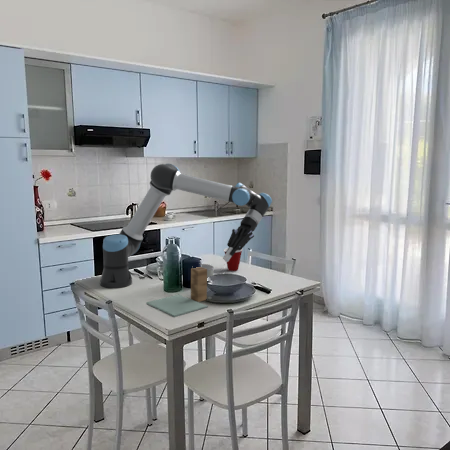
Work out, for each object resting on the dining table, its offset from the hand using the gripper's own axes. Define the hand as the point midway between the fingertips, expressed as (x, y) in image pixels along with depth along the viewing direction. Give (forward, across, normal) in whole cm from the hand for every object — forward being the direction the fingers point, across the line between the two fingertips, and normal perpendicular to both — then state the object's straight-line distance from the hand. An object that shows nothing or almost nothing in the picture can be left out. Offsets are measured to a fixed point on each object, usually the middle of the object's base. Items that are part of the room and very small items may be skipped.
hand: (225, 260), depth 193 cm
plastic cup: (-11, +28, -34) cm, 45 cm away
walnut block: (+22, +1, 0) cm, 22 cm away
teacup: (+9, +21, -14) cm, 26 cm away
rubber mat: (+30, +1, +8) cm, 31 cm away
